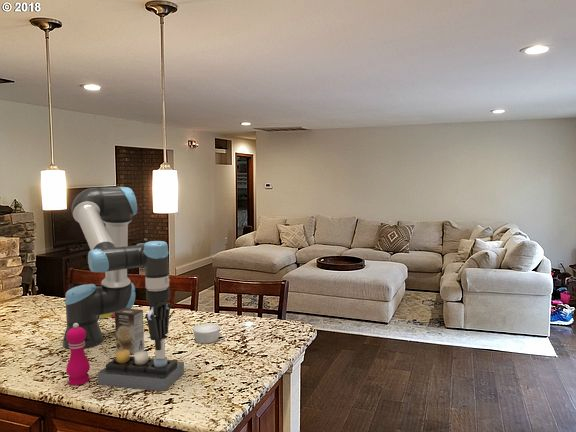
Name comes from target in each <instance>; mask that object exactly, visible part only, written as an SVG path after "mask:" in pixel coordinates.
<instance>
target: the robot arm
mask: <svg viewBox="0 0 576 432" xmlns="http://www.w3.org/2000/svg"><path fill="white" fill-rule="evenodd" d="M71 214H72V217H73V219H74V220H75V222H77V223H79V226H80V228H81V230H82V233H83V235H84V238H85V240H86V242H87V244H88V247H89V251H88V253H87V264H88V268H89V270H90V272H93V273H105V277H104V278H103V279H102V280H101V282H100V283H101V284H100V285H101V286H97V285H96V284H94V283H89V284H80V285H77V286H73V287H71V288H70V289H68V290H67V291H66V292H65V298H64V299H65V301H64V304H65V314H66V315H65V316H66V317H65V318H66V329H65V332H64V336H63V338H62V346H63V348H65V347H66V348H65V349H68V348H69V341H68V340H67V338H66V335H67V332H68V331H69V330H70V329H71V328H73V324H74V323H78V324H79V326H78V327H81V328H83V329H84V330H85V331H86V337H85V339H84V341H85V346H84V349H87V348H91V347H95V346H98V345H100V344H101V343H103V341H104V334H103V332H102V329H101V327H100V324H99V321H98V320H99V319H98V318H97V317H98V315H103V314H109V313H114V312H116V311H118V310H121V309H123V308H131V309H132V308H133V307H134V305H135V304H134V303H135V302H136V301H135V300H136V287H135V285H134V283H133V282H131V279H130V278H129V277H128V269H135V268H136V269H137V268H144V277H145V278H144V279H145V281H144V283H145V289H146V290H145V299H146V300H145V301H146V302H148V303H149V308H148V309H149V313H146V314H145V316H144V317H145V319H146V323H147V327H148V332H149V338H150V340H151V341H154V347H155V348H154V349H155V351H154V354H155V358H156V359H164V358H165V357H166V345H165V344H166V343H165V339H168V337H169V336H168V334H169V324H170V311H171V304H168V303H167V302H168V301H169V300H170V296H171V295H170V293H171V291H170V288H169V287H170V281H171V279H170V276H169V275H170V273H169V272H170V270H169V269H170V268H169V264H170V263H169V247H168V246H169V245H168V243H167V242H166V241H165V240H164V241H163V240H162V241H161V240H152V241H147V242H145V243H144V242H143V243H137V244H135V245H129V244H128V243H129V241H128V236H129V231H128V230H129V224H130V223H131V222H132V220H133V216H135V215H137V214H138V204H137V198H136V195H135V192H134V191H133V190H132V188H130V187H126V186H112V187H111V186H109V187H91V188H86V189H84V190H82V191H81V192H79V193H77V195H76V196H75V198H74V200H73V201H72V204H71Z"/></svg>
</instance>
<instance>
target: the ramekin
mask: <svg viewBox="0 0 576 432" xmlns="http://www.w3.org/2000/svg"><path fill="white" fill-rule="evenodd" d="M220 330H221V326H220V325H219V324H217V323H211V322H210V323H201V324H198V325H194V326H193V328H192V332H193V335H194V340H195V341H196V342H197V344H198V343H199V344H211V343H215V342H217V341H218V340H219V337H220Z"/></svg>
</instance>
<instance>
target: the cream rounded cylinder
mask: <svg viewBox="0 0 576 432" xmlns="http://www.w3.org/2000/svg"><path fill="white" fill-rule="evenodd" d="M133 355H134V356H133V357H135V364H137V365H138V366H145V364H146V363H148V358H149V352H148V351H147V350H142V351H139V352H136V353H135V354H133Z"/></svg>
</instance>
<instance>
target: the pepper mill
mask: <svg viewBox="0 0 576 432" xmlns="http://www.w3.org/2000/svg"><path fill="white" fill-rule="evenodd" d="M78 326H79V324H78V323H74V324H73V328H71V329H70V330H69V331H68V332H67V335H66V338H67V340H68V341H69V348H70V349H69V351H70V357H69V360H68V362H67V365H66V371H65V372H66V374H67V376H69V377H68V384H69V385H70V386H81V385H83V384H86V383H88V382H89V380H90V375H89V371H90V368H91V365H90V362H89V360H88V358H87V355H86V354H85V348H84V346H85V341H84V339H85V337H86V331H85V330H84V329H83V328H81V327H78Z"/></svg>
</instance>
